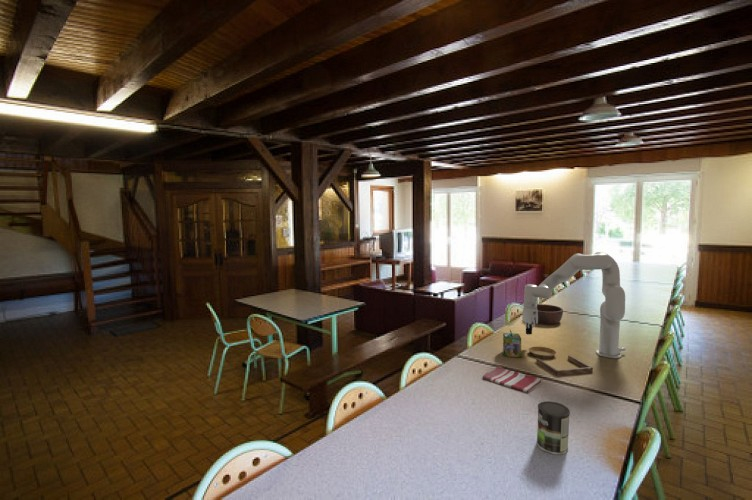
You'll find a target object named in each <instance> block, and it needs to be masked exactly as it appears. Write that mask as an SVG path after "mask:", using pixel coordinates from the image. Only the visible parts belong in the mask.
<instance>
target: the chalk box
mask: <svg viewBox="0 0 752 500" xmlns="http://www.w3.org/2000/svg"><path fill="white" fill-rule="evenodd" d="M502 338H503V339H502V354H503V355H504V357H507V358H522V337H521V335H520V334H519V333H513V332H512V330H511V329H509V332H504V333H502Z"/></svg>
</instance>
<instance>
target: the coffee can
mask: <svg viewBox="0 0 752 500" xmlns="http://www.w3.org/2000/svg"><path fill="white" fill-rule="evenodd" d="M537 409H538V410H537V429H536V430H537V433H536V434H537V435H536V445H537V446H538V447H539V449H541V450H542V451H544V452H546V453H548V454H552V455H564V454H567V452H568V451H569V433H570V432H569V431H570V430H569V428H570V413H571V411H570V408H568V406H566V405H564V404H562V403H559V402H555V401H550V400H549V401H541V402H539V403H538V404H537Z"/></svg>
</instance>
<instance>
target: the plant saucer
mask: <svg viewBox="0 0 752 500" xmlns="http://www.w3.org/2000/svg"><path fill="white" fill-rule="evenodd" d="M528 351H529V353H530V354H531V355H533V356H534V357H536V358H539V359H550V358H553V357H554V356H555V355H556V354H557V351H556V350H555V349H552V348H550V347H545V346H532V347H529V348H528Z"/></svg>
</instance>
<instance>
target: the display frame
mask: <svg viewBox="0 0 752 500" xmlns="http://www.w3.org/2000/svg"><path fill="white" fill-rule="evenodd" d="M567 360H568V361H569V362H571V363H573V364H575V365H577V366H578V367H575V368H567V369H566V368H565V369H556V368H555V367H553V366H552V365H550V364H549V363H546V362H545V361H543V360H542V359H541V358H540V357H536V359H535V362H536V363H537V364H538V365H539V366H540V367H542V368H544V369H545V370H546V371H548V372H550V373H551V374H553V375H554V376H556V377H559V376H568V375H569V376H571V375H578V374H579V375H581V374H589V373H590V374H591V373H593V372H594V367H593V366H591V365H589V364H587V363H585V362H583V361H582V360H579V359H578V358H575V357H574V356H572V355H569V354H568V355H567Z"/></svg>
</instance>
